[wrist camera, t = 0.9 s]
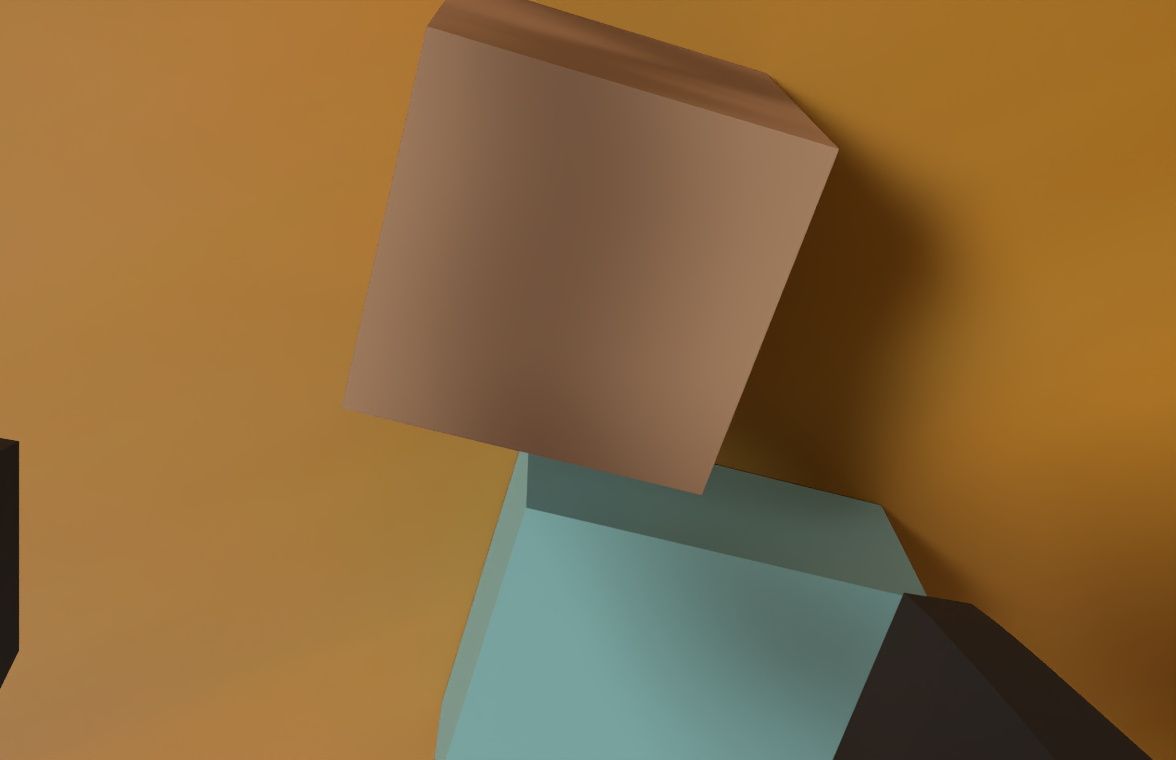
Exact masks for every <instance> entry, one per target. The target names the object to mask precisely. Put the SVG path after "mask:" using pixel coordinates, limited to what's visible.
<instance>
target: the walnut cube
mask: <svg viewBox="0 0 1176 760" xmlns="http://www.w3.org/2000/svg"><path fill="white" fill-rule="evenodd" d="M838 151H839V148H838V147H837V146H836V145H835V144H834V143H833V142H832V141H831V140H830V139H829V138H828V137H827V136H826V135H825V134H824V133H823V132H822V131H821V130H820V129H819V128H818V127H817V126H816V125H815V124H814V123H813V121H812V120H811V119H810V118H809V117H808V116H807V115H806V114H805V113H804V112H803V111H802V110H801V109H800V108H799V107H798V106H797V105H796V104H795V103H794V102H793V101H792V100H791V99H790V98H789V97H788V96H787V95H786V94H785V92H784V91H783V90H782V89H781V88H780V87H779V86H778V85H777V84H776V83H775V82H774V81H773V80H772V79H771V78H770V77H769V76H768V75H767V74H766V73H763V72H760V71H757V70H754V69H750V68H747V67H744V66H741V65H737V64H734V63H731V62H728V61H724V60H721V59H718V58H714V57H711V56H708V55H705V54H701V53H698V52H695V51H692V50H688V49H685V48H682V47H678V46H675V45H672V44H669V43H665V42H662V41H659V40H656V39H652V38H649V37H646V36H643V35H639V34H636V33H633V32H629V31H626V30H623V29H620V28H616V27H613V26H610V25H607V24H603V23H600V22H597V21H593V20H590V19H587V18H584V17H580V16H577V15H574V14H571V13H567V12H564V11H561V10H558V9H554V8H551V7H548V6H544V5H541V4H538V3H535V2H531V1H528V0H445V2H444V3H443V4H442V6H441V7H440V9H439V10H438V11H437V13H436V14H435V16H434V17H433V18H432V20H431V21H430V23H429V24H428V26H427V28H426V33H425V37H424V42H423V46H422V51H421V55H420V60H419V64H418V68H417V73H416V77H415V82H414V86H413V91H412V95H411V100H410V104H409V109H408V113H407V118H406V122H405V127H404V131H403V135H402V140H401V144H400V149H399V153H398V158H397V162H396V167H395V171H394V176H393V180H392V185H391V189H390V194H389V198H388V203H387V207H386V211H385V216H384V220H383V225H382V229H381V234H380V238H379V243H378V247H377V252H376V256H375V261H374V265H373V270H372V274H371V278H370V283H369V287H368V292H367V296H366V301H365V305H364V310H363V314H362V319H361V323H360V328H359V332H358V337H357V341H356V346H355V350H354V354H353V359H352V363H351V368H350V372H349V377H348V381H347V386H346V390H345V395H344V399H343V404H342V408H343V409H347V410H351V411H355V412H359V413H363V414H367V415H372V416H376V417H380V418H384V419H388V420H392V421H396V422H401V423H405V424H409V425H413V426H417V427H421V428H425V429H430V430H434V431H438V432H442V433H446V434H450V435H454V436H459V437H463V438H467V439H471V440H475V441H479V442H483V443H488V444H492V445H496V446H500V447H504V448H508V449H513V450H517V451H521V452H525V453H529V454H533V455H537V456H542V457H546V458H550V459H554V460H558V461H562V462H566V463H571V464H575V465H579V466H583V467H587V468H591V469H595V470H600V471H604V472H608V473H612V474H616V475H620V476H624V477H629V478H633V479H637V480H641V481H645V482H649V483H653V484H658V485H662V486H666V487H670V488H674V489H678V490H682V491H687V492H691V493H695V494H699V495H702V493H703V490H704V488H705V485H706V483H707V480H708V478H709V475H710V473H711V470H712V468H713V465H714V463H715V460H716V458H717V455H718V453H719V450H720V448H721V445H722V443H723V440H724V438H725V435H726V433H727V430H728V428H729V425H730V422H731V420H732V417H733V415H734V412H735V410H736V407H737V405H738V402H739V400H740V397H741V395H742V392H743V390H744V387H745V385H746V382H747V380H748V377H749V375H750V372H751V370H752V367H753V365H754V362H755V360H756V357H757V355H758V352H759V350H760V347H761V345H762V342H763V339H764V337H765V334H766V332H767V329H768V327H769V324H770V322H771V319H772V317H773V314H774V312H775V309H776V307H777V304H778V302H779V299H780V297H781V294H782V292H783V289H784V287H785V284H786V282H787V279H788V277H789V274H790V272H791V269H792V267H793V264H794V262H795V259H796V256H797V254H798V251H799V249H800V246H801V244H802V241H803V239H804V236H805V234H806V231H807V229H808V226H809V224H810V221H811V219H812V216H813V214H814V211H815V209H816V206H817V204H818V201H819V199H820V196H821V194H822V191H823V189H824V186H825V184H826V181H827V179H828V176H829V173H830V171H831V168H832V166H833V163H834V161H835V158H836V156H837V153H838Z"/></svg>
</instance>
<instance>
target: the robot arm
mask: <svg viewBox="0 0 1176 760" xmlns="http://www.w3.org/2000/svg"><path fill="white" fill-rule="evenodd" d="M18 651H19V441H14V440H8V439H2V438H0V688H1V686H2V684H3V682H4V680H5V678H6V676H7V674H8V672H9V670H10V668H11V666H12V664H13V661H14V659H15V657H16V655H17V653H18ZM833 760H1152V759H1151V758H1150V757H1149V756H1148V755H1147V754H1146V753H1145V752H1143V751H1142V750H1141V749H1140V748H1139V747H1138V746H1137V745H1136V744H1134V743H1133V742H1132V741H1131V740H1130V739H1129V738H1128V737H1127V736H1125V735H1124V734H1123V733H1122V732H1121V731H1120V730H1119V729H1118V728H1116V727H1115V726H1114V725H1113V724H1112V723H1111V722H1110V721H1109V720H1108V719H1106V718H1105V717H1104V716H1103V715H1102V714H1101V713H1100V712H1099V711H1097V710H1096V709H1095V708H1094V707H1093V706H1092V705H1091V704H1090V703H1088V702H1087V701H1086V700H1085V699H1084V698H1083V697H1082V696H1081V695H1080V694H1078V693H1077V692H1076V691H1075V690H1074V689H1073V688H1072V687H1071V686H1069V685H1068V684H1067V683H1066V682H1065V681H1064V680H1063V679H1062V678H1061V677H1059V676H1058V675H1057V674H1056V673H1055V672H1054V671H1053V670H1051V669H1050V668H1049V667H1048V666H1047V665H1046V664H1045V663H1043V662H1042V661H1041V660H1040V659H1039V658H1038V657H1037V656H1035V655H1034V654H1033V653H1032V652H1031V651H1030V650H1029V649H1027V648H1026V647H1025V646H1024V645H1023V644H1022V643H1020V642H1019V641H1018V640H1017V639H1016V638H1014V637H1013V636H1012V635H1011V634H1010V633H1008V632H1007V631H1006V630H1005V629H1004V628H1002V627H1001V626H1000V625H999V624H997V623H996V622H995V621H994V620H992V619H991V618H990V617H988V616H987V615H986V614H984V613H983V612H982V611H980V610H979V609H978V608H976V607H975V606H974V605H972V604H969V603H963V602H957V601H951V600H945V599H939V598H933V597H928V596H922V595H916V594H910V593H903V596H902V598H901V600H900V603H899V605H898V608H897V610H896V612H895V615H894V617H893V619H892V622H891V624H890V626H889V629H888V631H887V633H886V636H885V638H884V640H883V643H882V645H881V647H880V650H879V652H878V654H877V657H876V659H875V661H874V664H873V666H872V668H871V671H870V673H869V676H868V678H867V680H866V683H865V685H864V687H863V690H862V692H861V694H860V697H859V699H858V701H857V704H856V706H855V708H854V711H853V713H852V715H851V718H850V720H849V722H848V725H847V727H846V729H845V732H844V734H843V737H842V739H841V741H840V744H839V746H838V748H837V751H836V753H835V755H834V758H833Z"/></svg>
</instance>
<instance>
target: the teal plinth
mask: <svg viewBox="0 0 1176 760" xmlns="http://www.w3.org/2000/svg"><path fill="white" fill-rule="evenodd" d="M903 593H910V594H916V595H922V596H927V595H926V593H925V591H924V589H923V587H922V585H921V583H920V581H919V579H918V577H917V575H916V573H915V571H914V569H913V567H912V565H911V563H910V561H909V559H908V557H907V555H906V553H905V551H904V549H903V547H902V545H901V543H900V541H899V539H898V537H897V535H896V534H895V532H894V530H893V528H892V526H891V524H890V522H889V520H888V518H887V516H886V514H885V512H884V510H883V508H882V506H881V505H877V504H873V503H869V502H865V501H861V500H857V499H853V498H849V497H845V496H841V495H837V494H833V493H828V492H824V491H820V490H816V489H812V488H808V487H804V486H800V485H796V484H792V483H788V482H784V481H780V480H776V479H772V478H768V477H764V476H760V475H755V474H751V473H747V472H743V471H739V470H735V469H731V468H727V467H723V466H719V465H715V464H714V465H713V468H712V470H711V473H710V475H709V478H708V480H707V483H706V485H705V488H704V490H703V493H702V495H699V494H695V493H691V492H687V491H682V490H678V489H674V488H670V487H666V486H662V485H658V484H653V483H649V482H645V481H641V480H637V479H633V478H629V477H624V476H620V475H616V474H612V473H608V472H604V471H600V470H595V469H591V468H587V467H583V466H579V465H575V464H571V463H566V462H562V461H558V460H554V459H550V458H546V457H542V456H537V455H533V454H529V453H525V452H521V451H520V452H519V455H518V458H517V461H516V465H515V468H514V471H513V474H512V478H511V481H510V484H509V487H508V491H507V494H506V497H505V500H504V504H503V507H502V510H501V513H500V516H499V520H498V523H497V526H496V529H495V533H494V536H493V539H492V542H491V546H490V549H489V552H488V555H487V559H486V562H485V565H484V568H483V572H482V575H481V578H480V581H479V585H478V588H477V591H476V594H475V598H474V601H473V604H472V607H471V611H470V614H469V617H468V620H467V624H466V627H465V630H464V633H463V637H462V640H461V643H460V646H459V650H458V653H457V656H456V659H455V663H454V666H453V669H452V672H451V676H450V679H449V682H448V685H447V689H446V692H445V695H444V698H443V702H442V706H441V713H440V721H439V729H438V737H437V744H436V752H435V760H833V758H834V755H835V753H836V751H837V748H838V746H839V744H840V741H841V739H842V737H843V734H844V732H845V729H846V727H847V725H848V722H849V720H850V718H851V715H852V713H853V711H854V708H855V706H856V704H857V701H858V699H859V697H860V694H861V692H862V690H863V687H864V685H865V683H866V680H867V678H868V676H869V673H870V671H871V668H872V666H873V664H874V661H875V659H876V657H877V654H878V652H879V650H880V647H881V645H882V643H883V640H884V638H885V636H886V633H887V631H888V629H889V626H890V624H891V622H892V619H893V617H894V615H895V612H896V610H897V608H898V605H899V603H900V600H901V598H902V596H903Z"/></svg>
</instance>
